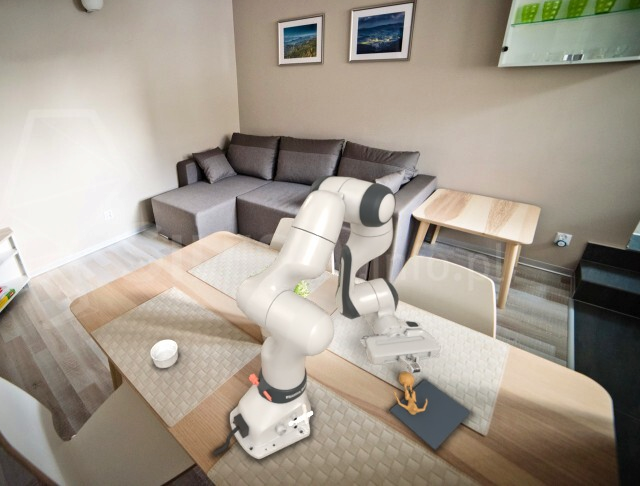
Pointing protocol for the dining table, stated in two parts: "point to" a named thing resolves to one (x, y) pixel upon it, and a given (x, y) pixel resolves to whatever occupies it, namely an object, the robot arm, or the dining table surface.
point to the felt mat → (431, 414)
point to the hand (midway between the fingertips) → (416, 371)
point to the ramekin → (164, 353)
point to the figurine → (408, 381)
